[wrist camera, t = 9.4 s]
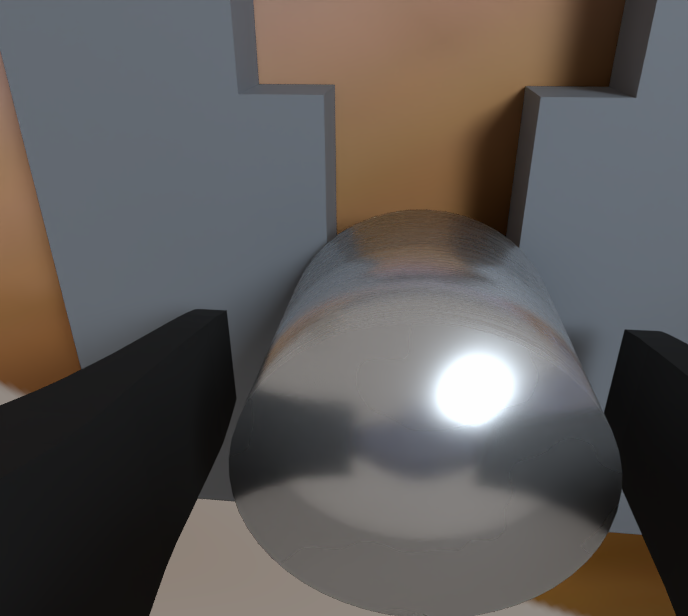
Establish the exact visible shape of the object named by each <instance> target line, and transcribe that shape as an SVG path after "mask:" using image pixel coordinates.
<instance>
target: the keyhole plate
mask: <svg viewBox="0 0 688 616" xmlns="http://www.w3.org/2000/svg"><path fill="white" fill-rule="evenodd" d="M0 51H1V55H2V59H3V63H4V67H5V71H6V75H7V79H8V83H9V86H10V90H11V94H12V98H13V102H14V106H15V110H16V114H17V118H18V122H19V126H20V130H21V134H22V138H23V142H24V145H25V149H26V153H27V157H28V161H29V165H30V169H31V173H32V177H33V181H34V185H35V189H36V193H37V197H38V201H39V204H40V208H41V212H42V216H43V220H44V224H45V228H46V232H47V236H48V240H49V244H50V248H51V252H52V256H53V260H54V263H55V267H56V271H57V275H58V279H59V283H60V287H61V291H62V295H63V299H64V303H65V307H66V311H67V315H68V319H69V322H70V326H71V330H72V334H73V338H74V342H75V346H76V350H77V354H78V358H79V362H80V366H81V369H83V368H85V367H87V366H89V365H91V364H93V363H95V362H97V361H99V360H101V359H103V358H105V357H107V356H109V355H111V354H113V353H114V352H116V351H118V350H120V349H122V348H123V347H125V346H127V345H129V344H131V343H132V342H134V341H136V340H138V339H139V338H141V337H143V336H145V335H147V334H148V333H150V332H152V331H154V330H155V329H157V328H159V327H161V326H163V325H164V324H166V323H168V322H170V321H172V320H173V319H175V318H177V317H179V316H181V315H183V314H185V313H187V312H189V311H192V310H194V309H209V310H227V316H228V326H229V335H230V344H231V353H232V362H233V371H234V380H235V389H236V398H237V400H236V403H235V407H234V410H233V414H232V417H231V421H230V424H229V427H228V430H227V433H226V436H225V439H224V442H223V445H222V447H221V449H220V452H219V454H218V456H217V458H216V460H215V462H214V465H213V467H212V469H211V471H210V473H209V475H208V478H207V480H206V482H205V484H204V486H203V488H202V490H201V492H200V494H199V496H198V498H199V499H212V500H224V501H235V500H234V497H233V494H232V489H231V483H230V478H229V452H230V446H231V439H232V436H233V433H234V430H235V427H236V424H237V421H238V418H239V416H240V414H241V412H242V409H243V407H244V405H245V402H246V400H247V398H248V396H249V393H250V391H251V389H252V386H253V384H254V382H255V380H256V377H257V375H258V373H259V370H260V368H261V366H262V363H263V361H264V359H265V357H266V354H267V352H268V350H269V347H270V345H271V343H272V341H273V338H274V336H275V334H276V331H277V329H278V327H279V325H280V322H281V320H282V318H283V315H284V313H285V311H286V308H287V306H288V304H289V302H290V299H291V297H292V295H293V292H294V290H295V288H296V286H297V283H298V281H299V279H300V278H301V276H302V274H303V272H304V270H305V268H306V267H307V266H308V264H309V263H310V261H311V260H312V259H313V257H314V256H315V255H316V254H317V253H318V252H319V251H320V250H321V249H322V248H323V247H324V246H325V245H326V244H327V243H328V242H329V241H331V240H332V239H333V238H334V237H336V236H337V231H336V145H335V85H308V84H259V79H258V64H257V50H256V35H255V20H254V6H253V0H0ZM506 237H507V238H508V239H509V240H511V241H512V242H513V243H514V244H515V245H516V246H517V247H518V248H519V249H520V250H521V251H522V252H523V253H524V254H525V255H526V256H527V257H528V259H529V260H530V261H531V263H532V264H533V265H534V266H535V268H536V270H537V271H538V273H539V275H540V277H541V279H542V281H543V282H544V285H545V287H546V289H547V291H548V293H549V295H550V298H551V300H552V302H553V304H554V306H555V308H556V311H557V313H558V315H559V317H560V319H561V321H562V324H563V326H564V328H565V330H566V332H567V334H568V337H569V339H570V341H571V343H572V345H573V347H574V350H575V352H576V354H577V356H578V358H579V360H580V363H581V365H582V367H583V369H584V371H585V373H586V376H587V378H588V380H589V382H590V384H591V386H592V389H593V391H594V393H595V395H596V397H597V399H598V402H599V404H600V406H601V408H602V410H603V412H604V410H605V406H606V402H607V398H608V394H609V390H610V386H611V382H612V378H613V374H614V370H615V366H616V362H617V358H618V354H619V350H620V346H621V342H622V338H623V334H624V330H625V329H627V330H648V331H662V332H664V333H667V334H669V335H671V336H673V337H675V338H677V339H679V340H681V341H683V342H685V343H687V344H688V0H626V1H625V6H624V12H623V17H622V22H621V27H620V32H619V38H618V43H617V48H616V53H615V58H614V63H613V69H612V74H611V79H610V84H609V87H572V86H526V87H525V95H524V103H523V110H522V118H521V126H520V133H519V141H518V149H517V156H516V164H515V172H514V179H513V187H512V195H511V202H510V210H509V218H508V225H507V233H506ZM609 532H616V533H628V534H640V535H642V534H641V531H640V529H639V527H638V525H637V522H636V520H635V518H634V516H633V513H632V511H631V509H630V507H629V504H628V502H627V500H626V497H625V495H624V493H623V490H622V492H621V497H620V501H619V506H618V510H617V513H616V516H615V518H614V521H613V523H612V525H611V528H610V530H609Z"/></svg>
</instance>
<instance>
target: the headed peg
mask: <svg viewBox="0 0 688 616" xmlns="http://www.w3.org/2000/svg"><path fill="white" fill-rule="evenodd" d="M229 478H230V483H231V489H232V494H233V497H234V500H235V502H236V505H237V508H238V511H239V513H240V515H241V517H242V519H243V521H244V522H245V524H246V526H247V528H248V530H249V531H250V532H251V534H252V535H253V537H254V538H255V539H256V541H257V542H258V544H259V545H260V546H261V547H262V548H263V549H264V550H265V551H266V552H267V553H268V554H269V556H270V557H271V558H272V559H273V560H275V561H276V562H277V563H278V564H279V565H280V566H282V567H283V568H284V569H285V570H286V571H287V572H289V573H290V574H292V575H293V576H295V577H296V578H298V579H299V580H301V581H302V582H303V583H305V584H307V585H308V586H310V587H312V588H314V589H316V590H318V591H319V592H321V593H323V594H325V595H328V596H330V597H332V598H335V599H337V600H339V601H342V602H344V603H347V604H350V605H353V606H356V607H359V608H362V609H366V610H370V611H375V612H378V613H383V614H389V615H395V616H475V615H480V614H485V613H490V612H495V611H498V610H502V609H505V608H509V607H512V606H515V605H518V604H520V603H523V602H525V601H528V600H530V599H533V598H535V597H537V596H539V595H541V594H543V593H544V592H546V591H548V590H550V589H552V588H554V587H555V586H557V585H558V584H560V583H561V582H562V581H564V580H565V579H567V578H568V577H570V576H571V575H572V574H573V573H574V572H576V571H577V570H578V569H579V568H580V567H581V566H582V565H583V564H585V563H586V562H587V560H588V559H589V558H590V557H591V556H592V555H593V553H594V552H595V551H596V550H597V549H598V548H599V546H600V545H601V543H602V541H603V540H604V538H605V537H606V535H607V533H608V532H609V530H610V528H611V525H612V523H613V521H614V518H615V516H616V513H617V510H618V506H619V501H620V497H621V492H622V467H621V461H620V454H619V450H618V447H617V444H616V441H615V438H614V435H613V432H612V430H611V427H610V425H609V423H608V421H607V419H606V417H605V415H604V412H603V410H602V408H601V406H600V404H599V402H598V399H597V397H596V395H595V393H594V391H593V389H592V386H591V384H590V382H589V380H588V378H587V376H586V373H585V371H584V369H583V367H582V365H581V363H580V360H579V358H578V356H577V354H576V352H575V350H574V347H573V345H572V343H571V341H570V339H569V337H568V334H567V332H566V330H565V328H564V326H563V324H562V321H561V319H560V317H559V315H558V313H557V311H556V308H555V306H554V304H553V302H552V300H551V298H550V295H549V293H548V291H547V289H546V287H545V285H544V282H543V281H542V279H541V277H540V275H539V273H538V271H537V270H536V268H535V266H534V265H533V264H532V263H531V261H530V260H529V259H528V257H527V256H526V255H525V254H524V253H523V252H522V251H521V250H520V249H519V248H518V247H517V246H516V245H515V244H514V243H513V242H512V241H511V240H509V239H508V238H507V237H505V236H504V235H502V234H501V233H500V232H498V231H497V230H495V229H493V228H491V227H489V226H487V225H486V224H484V223H482V222H479V221H476V220H474V219H471V218H469V217H466V216H463V215H458V214H454V213H450V212H446V211H437V210H427V209H426V210H403V211H397V212H390V213H386V214H382V215H379V216H375V217H371V218H369V219H367V220H364V221H362V222H360V223H357V224H355V225H353V226H351V227H350V228H348V229H346V230H345V231H343V232H341V233H339V234H338V235H337V236H336V237H334V238H333V239H332V240H331V241H329V242H328V243H327V244H326V245H325V246H324V247H323V248H322V249H321V250H320V251H319V252H318V253H317V254H316V255H315V256H314V257H313V259H312V260H311V261H310V263H309V264H308V266H307V267H306V268H305V270H304V272H303V274H302V276H301V278H300V279H299V281H298V283H297V286H296V288H295V290H294V292H293V295H292V297H291V299H290V302H289V304H288V306H287V308H286V311H285V313H284V315H283V318H282V320H281V322H280V325H279V327H278V329H277V331H276V334H275V336H274V338H273V341H272V343H271V345H270V347H269V350H268V352H267V354H266V357H265V359H264V361H263V363H262V366H261V368H260V370H259V373H258V375H257V377H256V380H255V382H254V384H253V386H252V389H251V391H250V393H249V396H248V398H247V400H246V402H245V405H244V407H243V409H242V412H241V414H240V416H239V418H238V421H237V424H236V427H235V430H234V433H233V436H232V439H231V446H230V452H229Z"/></svg>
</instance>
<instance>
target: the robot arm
mask: <svg viewBox="0 0 688 616" xmlns="http://www.w3.org/2000/svg"><path fill="white" fill-rule="evenodd" d="M236 400H237V398H236V389H235V380H234V371H233V362H232V353H231V344H230V335H229V326H228V316H227V310H209V309H194V310H192V311H189V312H187V313H185V314H183V315H181V316H179V317H177V318H175V319H173V320H172V321H170V322H168V323H166V324H164V325H163V326H161V327H159V328H157V329H155V330H154V331H152V332H150V333H148V334H147V335H145V336H143V337H141V338H139V339H138V340H136V341H134V342H132V343H131V344H129V345H127V346H125V347H123V348H122V349H120V350H118V351H116V352H114V353H113V354H111V355H109V356H107V357H105V358H103V359H101V360H99V361H97V362H95V363H93V364H91V365H89V366H87V367H85V368H83V369H81V370H79V371H77V372H75V373H73V374H71V375H69V376H68V377H66V378H63V379H61V380H59V381H57V382H55V383H53V384H50V385H48V386H46V387H44V388H41V389H39V390H37V391H35V392H32V393H30V394H27V395H25V396H22V397H20V398H17V399H15V400H13V401H10V402H8V403H5V404H3V405H0V616H149V614H150V612H151V609H152V606H153V603H154V600H155V597H156V595H157V592H158V589H159V586H160V583H161V580H162V578H163V575H164V572H165V569H166V566H167V564H168V561H169V559H170V557H171V554H172V552H173V550H174V547H175V545H176V542H177V540H178V538H179V536H180V534H181V532H182V530H183V527H184V526H185V524H186V521H187V519H188V517H189V515H190V513H191V511H192V509H193V507H194V505H195V502H196V501H197V499H198V496H199V494H200V492H201V490H202V488H203V486H204V484H205V482H206V480H207V478H208V475H209V473H210V471H211V469H212V467H213V465H214V462H215V460H216V458H217V456H218V454H219V452H220V449H221V447H222V445H223V442H224V439H225V436H226V433H227V430H228V427H229V424H230V421H231V417H232V414H233V410H234V407H235V403H236ZM604 415H605V417H606V419H607V421H608V423H609V425H610V427H611V430H612V432H613V435H614V438H615V441H616V444H617V447H618V450H619V454H620V461H621V467H622V490H623V493H624V495H625V497H626V500H627V502H628V504H629V507H630V509H631V511H632V513H633V516H634V518H635V520H636V522H637V525H638V527H639V529H640V531H641V534H642V536H643V538H644V540H645V543H646V545H647V547H648V550H649V552H650V554H651V556H652V559H653V561H654V563H655V565H656V568H657V570H658V572H659V574H660V577H661V579H662V581H663V583H664V586H665V588H666V591H667V593H668V596H669V598H670V601H671V603H672V606H673V608H674V611H675V614H676V616H688V344H687V343H685V342H683V341H681V340H679V339H677V338H675V337H673V336H671V335H669V334H667V333H664V332H662V331H648V330H627V329H625V330H624V334H623V338H622V342H621V346H620V350H619V354H618V358H617V362H616V366H615V370H614V374H613V378H612V382H611V386H610V390H609V394H608V398H607V402H606V406H605V410H604Z"/></svg>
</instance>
